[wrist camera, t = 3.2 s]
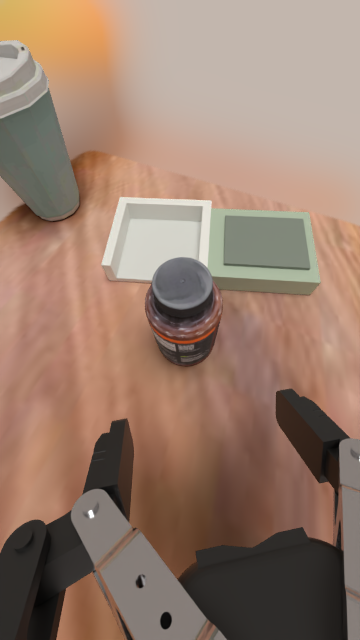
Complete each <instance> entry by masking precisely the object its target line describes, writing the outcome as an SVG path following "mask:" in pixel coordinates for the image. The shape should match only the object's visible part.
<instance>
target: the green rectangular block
mask: <svg viewBox="0 0 360 640" xmlns="http://www.w3.org/2000/svg"><path fill="white" fill-rule="evenodd" d="M208 270H209V271H210V273H211V275H212V278H213V281H214V282H215V283H216V285H217V286H218V288H219V289H223V290H239V291H255V292H270V293H286V294H302V295H310V294H311V293H312V292H313V291H314V290H315V289H316V287H317V286H318V285H319V284H320V283H321V282H320V276H319V270H318V264H317V258H316V252H315V246H314V240H313V234H312V227H311V221H310V215H309V212H286V211H262V210H237V209H213V208H211V218H210V235H209V252H208Z"/></svg>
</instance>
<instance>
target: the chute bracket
mask: <svg viewBox="0 0 360 640" xmlns="http://www.w3.org/2000/svg"><path fill="white" fill-rule="evenodd" d="M211 202H212V201H208V200H182V199H156V198H130V197H120V199H119V203H118V207H117V210H116V214H115V217H114V221H113V225H112V228H111V232H110V235H109V239H108V243H107V246H106V250H105V254H104V257H103V261H102V264H101V265H102V267H103V269H104V271H105V273H106V275H107V277H108V279H109V280H110V281H126V282H142V283H152V278H153V275H154V273H155V272H156V270H157V269H158V267H159V266H160V265H162V264H163V263H164V262H166V261H168V260H170V259H173V258H178V257H188V258H193V259H195V260H198V261H200V262H201V263H203V264H204V265H205V266H206V267H207V268H208V252H209V235H210V218H211Z"/></svg>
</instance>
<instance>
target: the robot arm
mask: <svg viewBox="0 0 360 640" xmlns="http://www.w3.org/2000/svg"><path fill="white" fill-rule="evenodd" d="M276 419H277V422H278V424H279V426H280V428H281V429H282V431H283V432H284V433H285V435H286V436H287V438H288V439H289V441H290V442H291V443H292V445H293V446H294V448H295V449H296V451H297V452H298V453H299V455H300V456H301V458H302V459H303V461H304V462H305V464H306V465H307V466H308V468H309V469H310V471H311V472H312V474H313V475H314V476H315V478H316V479H317V481H318V482H319V483H324V482H328V481H329V483H330V484H331V485H332V487H333V488H334V493H333V545H331V544H329V543H327V542H324V541H321V540H319V539H314V538H308V537H307V535H306V533H305V531H304V529H303V527H301V528H297V529H292V530H288V531H283V532H279V533H276V534H274V535H273V536H271V537H270V538H268V539H267V540H265V541H263V542H262V543H260V544H259V545H257V546H255V547H253V548H247V547H236V546H225V545H221V546H217V547H213V548H208V549H204V550H199V551H196V558H197V562H196V563H194V564H192V565H191V566H190V567H189V568H187V569H186V570H185V571H184V572H183V573H182V575H181V576H180V577H179V578H178V580H177V579H176V577H175V576H174V575H173V574H172V572H171V571H170V570H169V568H168V567H167V566H166V564H165V563H164V562H163V560H162V559H161V558H160V556H159V555H158V554H157V552H156V551H155V550H154V548H153V547H152V546H151V544H150V543H149V542H148V540H147V539H146V538H145V536H144V535H143V534H142V533H141V531H140V530H139V529H138V528H135V529H133V528H132V526H131V525H130V524H129V516H130V502H131V488H132V473H133V459H134V447H133V440H132V436H131V432H130V428H129V423H128V420H127V419H121V420H116V421H112V423H111V428H110V433H104V434H102V435H101V436H100V438H99V439H98V441H97V442H96V444H95V448H94V452H93V456H92V460H91V464H90V467H89V471H88V475H87V479H86V483H85V487H84V491H83V494H82V496H81V497H80V498H79V499H78V500H77V501H76V503H75V504H74V506H73V508H72V510H71V511H70V512H68V513H67V514H66V515H64V516H62V517H61V518H59V519H57V520H55V521H53V522H51V523H49V524H47V525H45V523H44V522H43V521H41V520H32V521H29V522H27V523H25V524H23V525H21V526H20V527H19V528H17V529H16V530H15V531H14V532H13V533H12V534H11V535H10V537H9V538H8V539H7V541H6V542H5V544H4V546H3V548H2V550H1V553H0V640H56V638H57V632H58V627H59V622H60V617H61V612H62V606H63V601H64V596H65V591H66V588H67V587H69V586H70V585H72V584H73V583H75V582H77V581H78V580H80V579H81V578H83V577H84V576H86V575H88V574H89V573H91V572H92V573H93V575H94V577H95V579H96V581H97V583H98V585H99V587H100V589H101V591H102V593H103V595H104V597H105V599H106V601H107V603H108V605H109V607H110V609H111V611H112V613H113V615H114V617H115V619H116V621H117V624H118V626H119V628H120V630H121V633H122V635H123V637H124V639H125V640H360V440H358V439H352V438H350V437H349V436H348V435H347V434H346V433H345V432H344V431H343V430H342V429H340V428H339V427H338V426H337V425H336V424H335V423H334V422H333V421H332V420H331V419H330V418H329V417H328V416H327V415H326V414H325V413H324V412H323V411H322V410H321V409H320V408H319V407H318V406H317V405H316V404H315V403H314V402H313V401H311V400H309V399H307V398H306V397H304V396H303V397H299V395H298V394H297V393H296V392H295V391H294V390H293V389H286V390H280V391H277V392H276Z"/></svg>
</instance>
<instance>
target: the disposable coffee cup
mask: <svg viewBox="0 0 360 640" xmlns="http://www.w3.org/2000/svg"><path fill="white" fill-rule="evenodd" d="M48 83H49V80H48V78H47V76H46V75H45V74H44V71H43V69H42V67H41V65H40V64H39V63H38V62H36V61H35V60H33V58H32V56H31V53H30V51H29V49H28V47H27V46H25V45H24V44H22V43H21V42H19V41H18V40H15V41H0V176H1V177H2V178H3V180H4V181H5V182H6V183H7V184H8V185H9V186H10V187H11V188H12V189H13V190H14V191H15V192H16V193H17V195H18V196H19V197H20V198H21V199H22V200H23V201H24V202H25V203H26V204H27V205H28V206H29V207H30V209H31V210H32V211H33V212H34V213H35V214H36V215H37V216H40V217H41V218H42V219H46V220H50V221H55V220H61V219H64V218H66V217H68V216H70V215H71V214H73V213H74V212H75V211H76V209H77V208H78V207H79V190H78V187H77V183H76V180H75V176H74V173H73V170H72V166H71V163H70V159H69V156H68V153H67V149H66V146H65V142H64V139H63V136H62V132H61V129H60V125H59V122H58V118H57V115H56V112H55V108H54V105H53V102H52V98H51V95H50V91H49V88H48Z"/></svg>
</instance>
